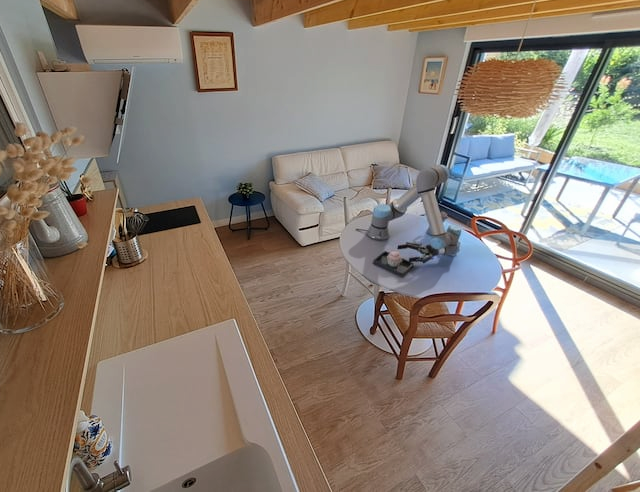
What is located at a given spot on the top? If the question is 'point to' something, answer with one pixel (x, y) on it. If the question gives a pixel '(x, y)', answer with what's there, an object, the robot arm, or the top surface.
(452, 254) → the cup
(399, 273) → the baking tray
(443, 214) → the moka pot
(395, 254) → the cupcake
